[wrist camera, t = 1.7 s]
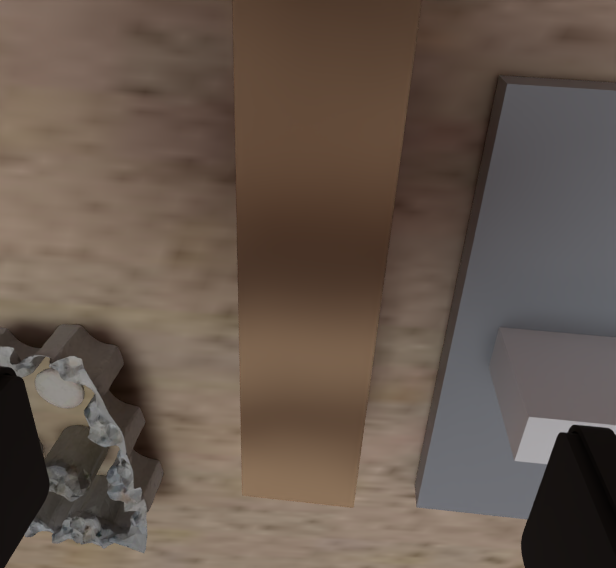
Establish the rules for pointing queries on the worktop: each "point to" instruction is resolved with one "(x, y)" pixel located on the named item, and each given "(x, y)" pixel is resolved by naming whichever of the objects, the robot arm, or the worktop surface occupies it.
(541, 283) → the fulcrum board
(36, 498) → the robot arm
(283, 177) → the beam
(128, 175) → the worktop surface
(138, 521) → the egg carton
